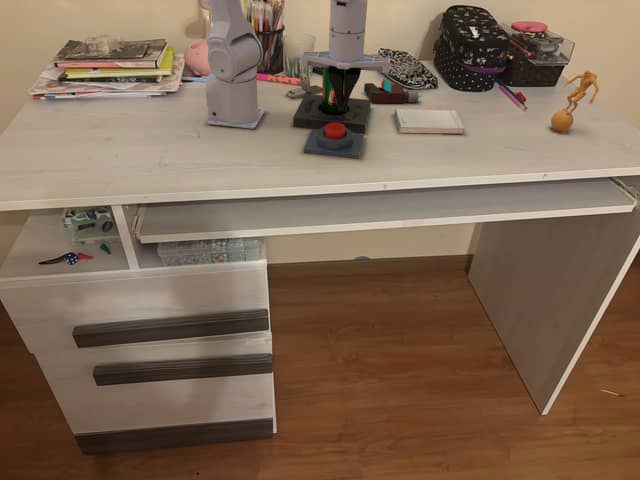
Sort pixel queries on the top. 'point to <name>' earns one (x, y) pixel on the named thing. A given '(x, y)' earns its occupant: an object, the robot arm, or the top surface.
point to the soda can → (329, 96)
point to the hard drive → (428, 121)
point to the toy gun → (390, 93)
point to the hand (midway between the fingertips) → (342, 109)
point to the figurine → (574, 101)
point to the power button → (335, 130)
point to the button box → (334, 144)
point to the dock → (314, 119)
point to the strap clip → (303, 88)
